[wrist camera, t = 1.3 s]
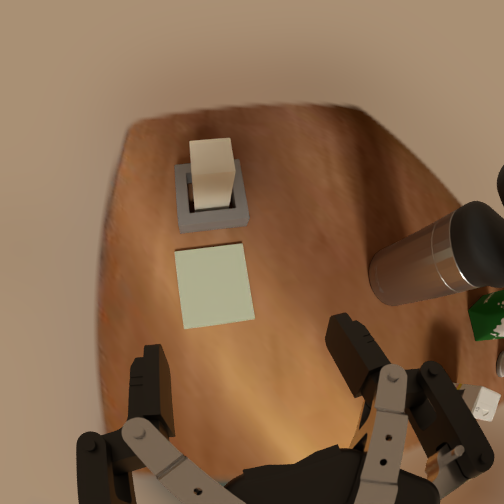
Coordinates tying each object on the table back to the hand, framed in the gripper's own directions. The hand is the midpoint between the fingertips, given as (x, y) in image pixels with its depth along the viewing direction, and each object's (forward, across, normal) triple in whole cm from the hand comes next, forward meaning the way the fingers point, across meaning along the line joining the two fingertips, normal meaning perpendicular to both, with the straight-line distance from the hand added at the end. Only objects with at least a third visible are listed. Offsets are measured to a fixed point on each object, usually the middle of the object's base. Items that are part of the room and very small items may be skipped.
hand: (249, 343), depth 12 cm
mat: (+20, 0, +12) cm, 24 cm away
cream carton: (+29, -1, +3) cm, 29 cm away
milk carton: (+9, -50, +23) cm, 56 cm away
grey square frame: (+29, -1, +3) cm, 29 cm away
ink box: (+2, -35, +31) cm, 47 cm away
